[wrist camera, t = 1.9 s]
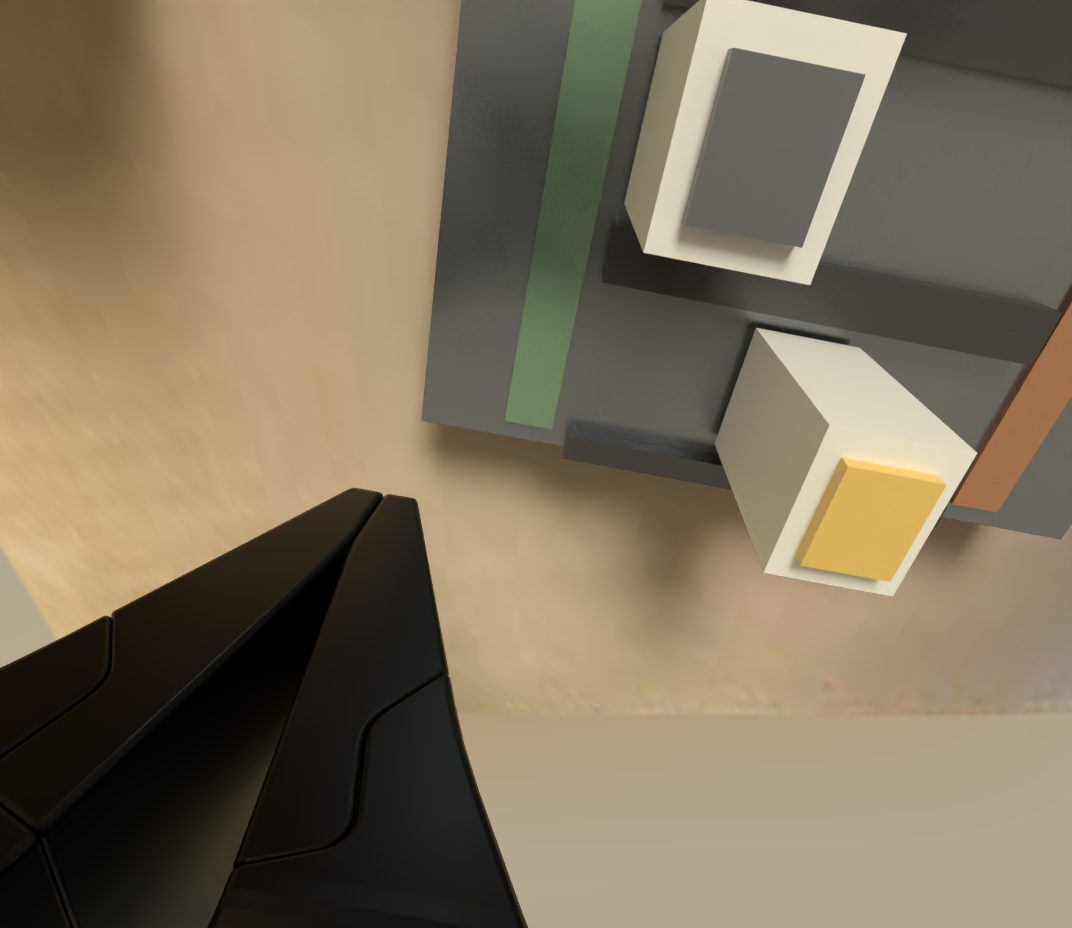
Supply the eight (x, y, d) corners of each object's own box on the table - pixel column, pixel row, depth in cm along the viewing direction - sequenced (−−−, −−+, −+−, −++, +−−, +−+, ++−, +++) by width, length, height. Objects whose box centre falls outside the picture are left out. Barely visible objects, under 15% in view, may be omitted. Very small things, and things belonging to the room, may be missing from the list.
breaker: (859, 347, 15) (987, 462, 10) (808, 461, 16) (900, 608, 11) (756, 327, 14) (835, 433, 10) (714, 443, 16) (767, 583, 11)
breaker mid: (789, 58, 12) (918, 31, 7) (736, 226, 13) (816, 290, 9) (663, 32, 12) (713, -11, 7) (623, 203, 13) (645, 257, 9)
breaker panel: (1444, -198, 12) (1699, -286, 9) (1006, 489, 19) (1076, 553, 16) (525, -404, 11) (506, -562, 9) (440, 383, 19) (415, 430, 16)
